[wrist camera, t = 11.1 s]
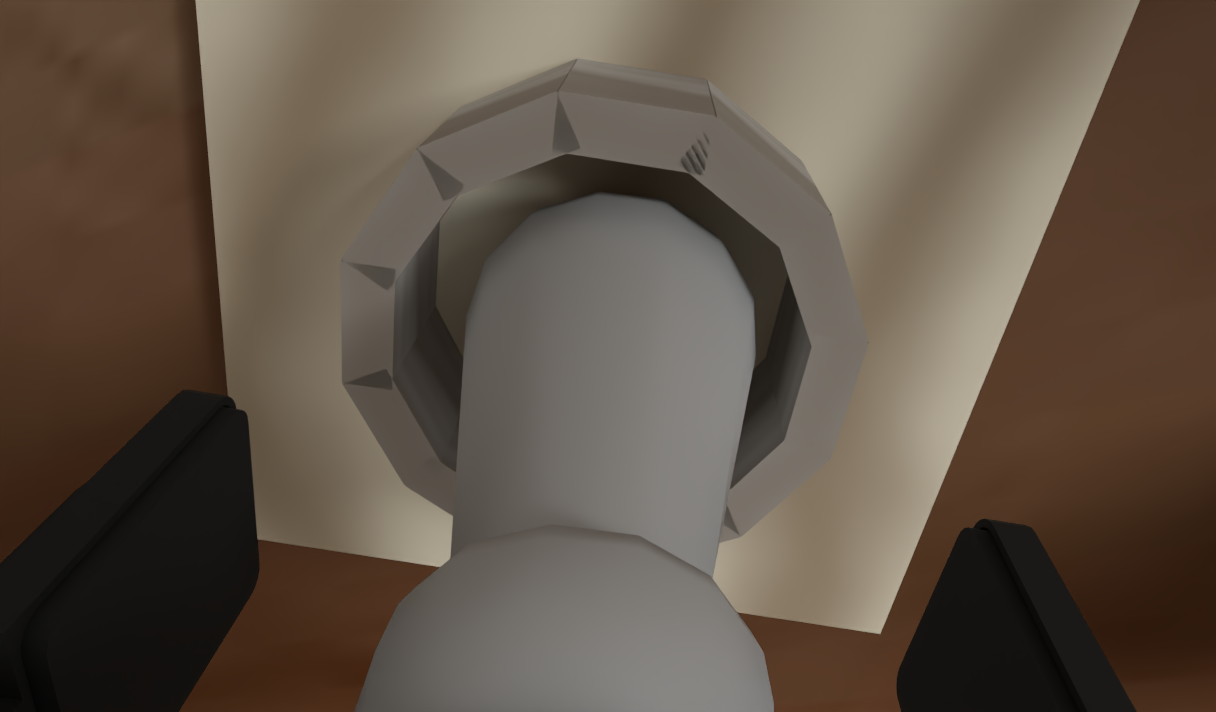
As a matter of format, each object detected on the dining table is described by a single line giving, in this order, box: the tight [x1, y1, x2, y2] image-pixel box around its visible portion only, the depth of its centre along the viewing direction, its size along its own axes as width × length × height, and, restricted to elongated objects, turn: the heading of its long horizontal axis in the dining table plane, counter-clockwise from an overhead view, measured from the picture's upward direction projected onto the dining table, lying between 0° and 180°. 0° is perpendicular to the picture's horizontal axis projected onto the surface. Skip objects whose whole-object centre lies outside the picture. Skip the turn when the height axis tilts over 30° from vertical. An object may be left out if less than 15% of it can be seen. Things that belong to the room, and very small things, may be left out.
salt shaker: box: [355, 192, 774, 712], centre depth 13 cm, size 6×6×13 cm
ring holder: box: [196, 0, 1140, 634], centre depth 18 cm, size 18×18×4 cm
